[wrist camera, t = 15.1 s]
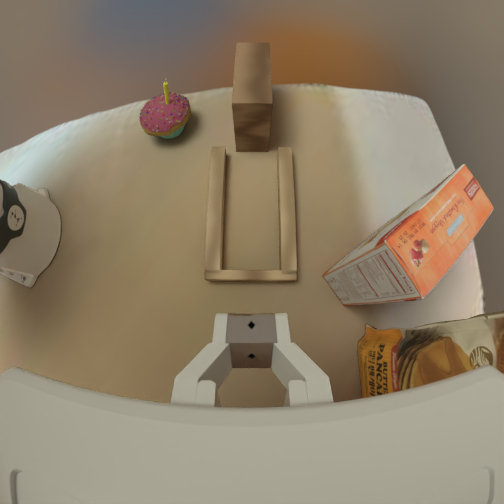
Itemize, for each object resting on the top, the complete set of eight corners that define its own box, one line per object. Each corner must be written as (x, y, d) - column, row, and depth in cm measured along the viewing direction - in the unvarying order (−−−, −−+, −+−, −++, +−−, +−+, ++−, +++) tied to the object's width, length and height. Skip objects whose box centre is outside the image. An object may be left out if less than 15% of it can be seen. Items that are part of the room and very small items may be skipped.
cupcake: (191, 105, 45) (178, 58, 33) (198, 140, 43) (184, 92, 31) (146, 119, 44) (124, 76, 32) (149, 155, 43) (123, 112, 31)
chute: (207, 280, 39) (204, 278, 36) (213, 155, 42) (211, 147, 40) (294, 281, 39) (296, 279, 36) (289, 155, 42) (291, 147, 40)
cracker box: (384, 220, 40) (465, 159, 20) (405, 251, 39) (497, 210, 19) (318, 273, 39) (384, 237, 18) (342, 307, 38) (427, 303, 17)
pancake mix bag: (389, 308, 38) (547, 294, 10) (397, 419, 34) (514, 492, 7) (350, 317, 37) (504, 322, 10) (360, 432, 34) (462, 533, 6)
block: (236, 151, 43) (231, 103, 31) (239, 91, 45) (236, 42, 34) (267, 152, 43) (272, 103, 31) (266, 91, 45) (269, 43, 34)
